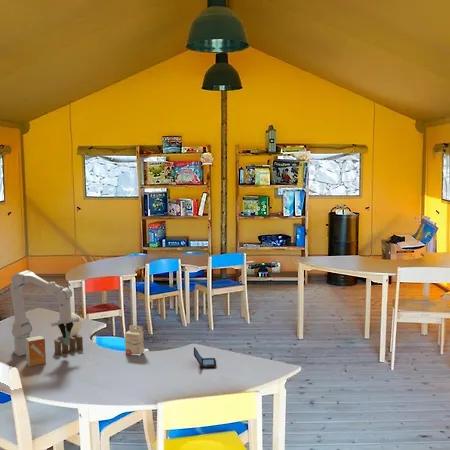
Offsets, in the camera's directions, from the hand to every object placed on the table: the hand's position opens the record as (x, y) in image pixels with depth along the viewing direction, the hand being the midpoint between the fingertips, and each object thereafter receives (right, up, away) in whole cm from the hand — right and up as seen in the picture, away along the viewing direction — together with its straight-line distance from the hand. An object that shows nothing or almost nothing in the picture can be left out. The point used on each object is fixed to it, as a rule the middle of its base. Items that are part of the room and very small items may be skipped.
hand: (66, 337), depth 293 cm
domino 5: (+3, -9, +13) cm, 16 cm away
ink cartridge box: (+35, -10, +4) cm, 36 cm away
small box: (-13, -12, -8) cm, 19 cm away
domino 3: (-3, -10, +9) cm, 13 cm away
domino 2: (0, -4, 0) cm, 4 cm away
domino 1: (-6, -10, +6) cm, 13 cm away
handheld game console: (+72, -11, -13) cm, 74 cm away
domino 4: (0, -9, +11) cm, 14 cm away
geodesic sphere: (-8, -7, +36) cm, 38 cm away
